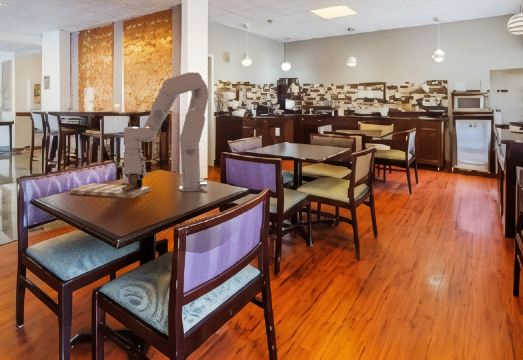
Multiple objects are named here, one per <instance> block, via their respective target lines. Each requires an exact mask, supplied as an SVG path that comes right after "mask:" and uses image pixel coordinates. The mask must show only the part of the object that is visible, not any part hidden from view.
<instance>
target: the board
mask: <svg viewBox="0 0 523 360" xmlns="http://www.w3.org/2000/svg"><path fill="white" fill-rule="evenodd" d="M125 186H128V184H124V185H123V184H113V183H112V184H109V183H108V184H107V183H98V182H97V183H93V182H92V183H89V184H85V185H82V186H78V187H75V188H72V189H70V194H71V193H74V194H73V195H84V194H86V195H87V196H97V197H98V196H99V197H101V196H102V197H112V198H125V199H129V198H130V199H134V198H136V197H139V196H141V195H144V194H146V193H148V192H149V193H150V192H151V191H152V190H151V186H144V185H142V187H140V188H137V189H130V190H128V191H122V187H125Z"/></svg>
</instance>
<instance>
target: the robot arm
mask: <svg viewBox="0 0 523 360" xmlns="http://www.w3.org/2000/svg"><path fill="white" fill-rule="evenodd" d="M188 92H191V96H190V101H189V105H188V110H187V112H186V114H185V116H184V117H185V119H184V123H183V127H182V130H181V133H180V136H179V144H180V146H179V147H180V148H179V149H180V166H181V167H180V168H181V185H180V186H179V188H178V189H179V191H181V192H199V191H202V190H203V189H204V188H207V187H208V183H207V182H203V180H202V179H201V169H200V167H201V166H200V165H201V162H200V141H201V138H202V134H203V130H204V127H205V121H206V116H205V114H206V109H207V104H208V101H209V89H208V85H207V84H206V82H205V80H204V79H203V77H202V75H201V74H200V73H199V72H198V71H194V70H193V71H188V72H186V73H182V74H179V75H176V76H172V77H169V78H166V79H165V80H164V81H163V82H162V85H161V88H160V90H159V92H158V94H157V96H156V98H155V100H153V101H154V102H153V103H152V105H151V109H150V113H149V115H148V117H147V119H146V121H145V123H144V124H143V126H142V127H137V126H127V127H126V126H125V128H124V129H123V138H124V151H125V153H124V156H123V162H124V170H123V171H122V175H123V174H124V175H125V176H126V177H127V179H128V175H130V174H137V177H138V180H137V187H138V188H139V187H142V186H143V179H144V178H145V176H146V175H148V172H147V170H146V169H147V168H146V162H145V156H144V154H143V152H144V150H143V149H142V146H141V144H142V143H141V142H145V143H146V142H147V143H148V142H149V143H150V142H152V141H153V140H154V139H155V138H156V137H157V134H158V132H159V130H160V128H161V126H162V125H163V123H164V121H165V119H166V118H167V117H168V115H169V114H170V111H171V108H172V107H173V105H174V104H175V103H174V102H175V101H176V99H177V97H178V95H181V94H185V93H188Z"/></svg>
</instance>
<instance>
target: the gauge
mask: <svg viewBox="0 0 523 360" xmlns="http://www.w3.org/2000/svg"><path fill="white" fill-rule="evenodd" d="M137 180H138V177H137V174H130V175H128V182H129V184H127V186H125V187H122V191H128V190H130V189H137V188H138V187H137ZM139 188H140V187H139Z"/></svg>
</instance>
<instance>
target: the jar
mask: <svg viewBox="0 0 523 360" xmlns="http://www.w3.org/2000/svg"><path fill="white" fill-rule="evenodd" d="M121 166H122V167H121V168H122V172H123V170H124V161H122V163H121ZM122 181H123V182H122V183H123V184H124V185H129V182H128V179H127V177H126V176H125V175H124V174H123V173H122Z"/></svg>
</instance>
